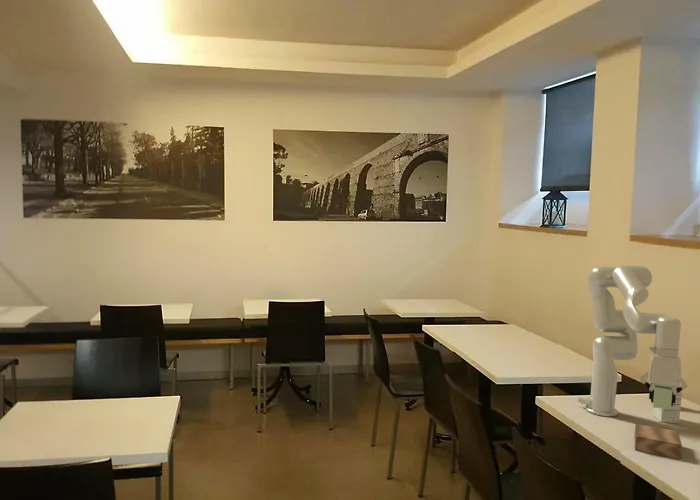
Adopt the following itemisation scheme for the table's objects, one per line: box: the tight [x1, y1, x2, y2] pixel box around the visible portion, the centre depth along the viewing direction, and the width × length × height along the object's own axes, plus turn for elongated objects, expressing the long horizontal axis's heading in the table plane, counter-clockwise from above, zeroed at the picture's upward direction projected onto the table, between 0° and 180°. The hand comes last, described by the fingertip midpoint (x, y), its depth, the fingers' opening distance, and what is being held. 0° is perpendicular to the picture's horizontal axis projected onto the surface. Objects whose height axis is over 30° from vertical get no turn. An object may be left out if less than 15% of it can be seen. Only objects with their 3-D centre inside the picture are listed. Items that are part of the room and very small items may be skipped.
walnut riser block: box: [633, 423, 683, 460], centre depth 216 cm, size 14×14×5 cm
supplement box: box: [652, 391, 683, 424], centre depth 247 cm, size 7×7×13 cm
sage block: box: [651, 385, 673, 410], centre depth 214 cm, size 6×6×7 cm
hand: (661, 402), depth 215 cm, fingers closed on sage block, 5 cm apart
